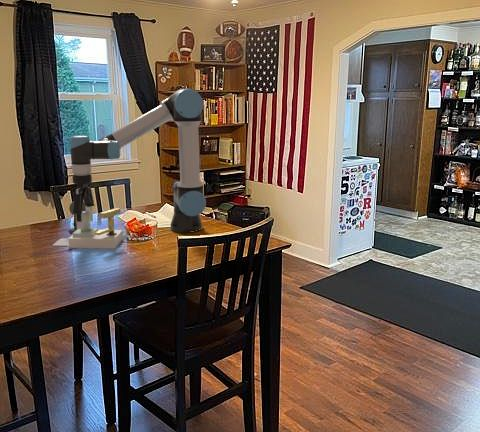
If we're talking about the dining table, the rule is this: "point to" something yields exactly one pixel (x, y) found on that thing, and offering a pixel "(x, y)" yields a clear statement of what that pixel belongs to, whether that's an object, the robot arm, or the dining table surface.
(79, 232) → the cover
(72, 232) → the figurine
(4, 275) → the dining table surface
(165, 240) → the dining table surface
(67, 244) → the pad
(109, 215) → the key
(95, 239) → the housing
